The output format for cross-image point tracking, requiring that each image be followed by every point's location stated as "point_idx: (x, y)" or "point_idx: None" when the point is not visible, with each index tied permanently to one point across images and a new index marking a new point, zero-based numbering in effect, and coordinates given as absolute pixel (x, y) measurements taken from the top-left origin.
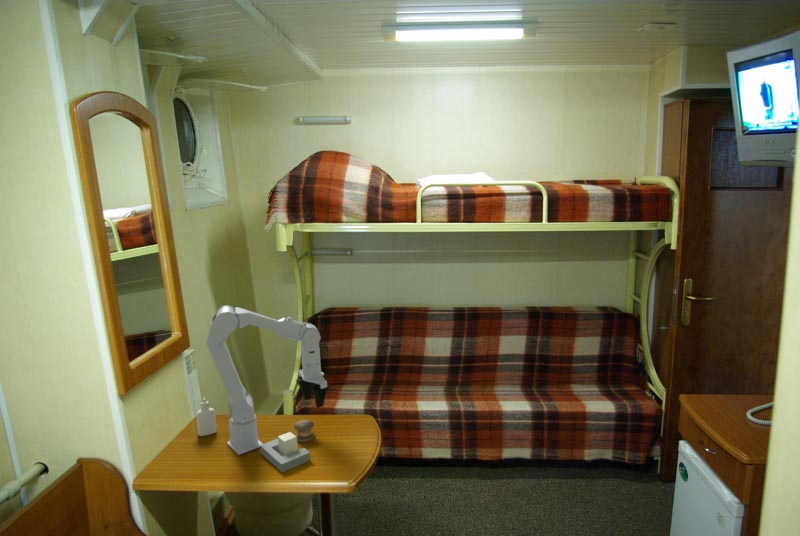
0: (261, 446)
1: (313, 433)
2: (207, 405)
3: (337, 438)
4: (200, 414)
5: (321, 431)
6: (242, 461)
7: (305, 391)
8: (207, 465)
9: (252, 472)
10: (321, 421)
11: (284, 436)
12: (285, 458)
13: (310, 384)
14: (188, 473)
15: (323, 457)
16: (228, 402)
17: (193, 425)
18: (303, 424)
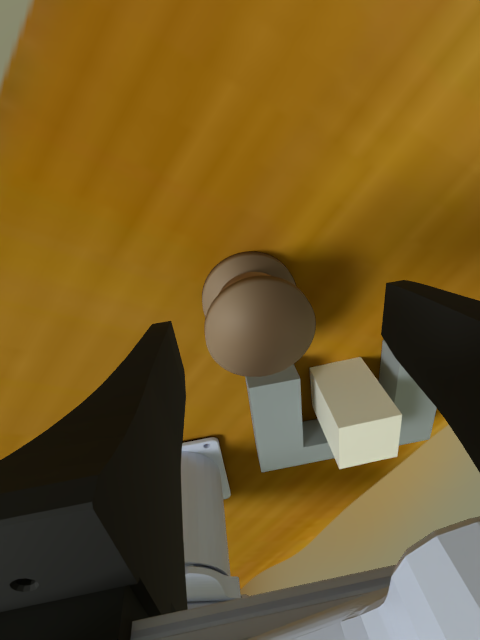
0: (273, 469)
1: (263, 259)
2: None
3: (371, 154)
4: None
5: (241, 200)
6: (269, 486)
7: (173, 432)
8: (229, 543)
9: (345, 472)
10: (113, 143)
11: (359, 450)
12: (410, 424)
13: (145, 434)
14: (239, 566)
15: (453, 284)
16: None
17: None
18: (262, 335)
